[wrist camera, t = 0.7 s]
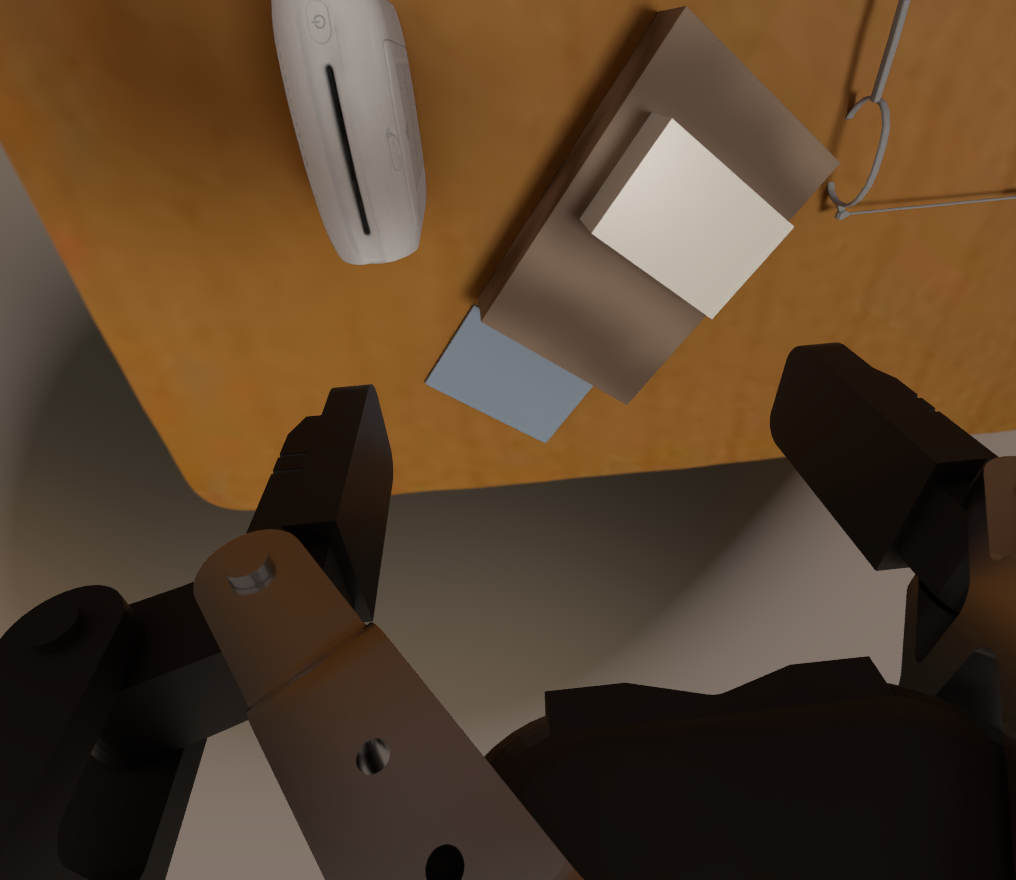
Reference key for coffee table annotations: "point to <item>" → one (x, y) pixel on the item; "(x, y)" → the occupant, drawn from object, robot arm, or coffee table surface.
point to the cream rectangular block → (684, 216)
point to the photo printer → (355, 122)
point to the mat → (506, 379)
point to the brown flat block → (556, 218)
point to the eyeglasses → (883, 121)
